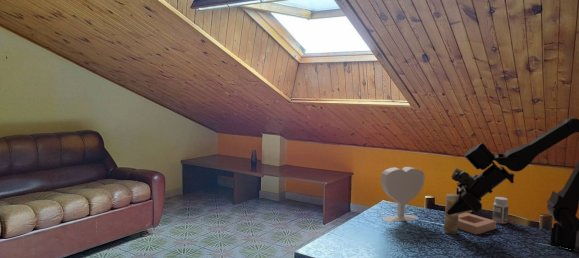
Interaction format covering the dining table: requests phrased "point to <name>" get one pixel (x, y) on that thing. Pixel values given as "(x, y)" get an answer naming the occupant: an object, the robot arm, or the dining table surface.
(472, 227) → the socket collar
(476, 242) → the dining table surface
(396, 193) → the heart sculpture
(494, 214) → the pill bottle
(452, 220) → the beech peg
